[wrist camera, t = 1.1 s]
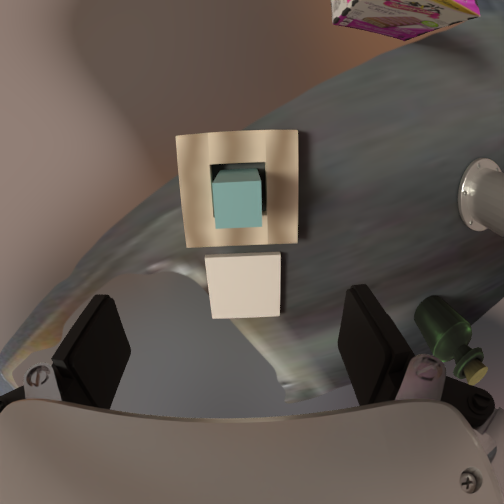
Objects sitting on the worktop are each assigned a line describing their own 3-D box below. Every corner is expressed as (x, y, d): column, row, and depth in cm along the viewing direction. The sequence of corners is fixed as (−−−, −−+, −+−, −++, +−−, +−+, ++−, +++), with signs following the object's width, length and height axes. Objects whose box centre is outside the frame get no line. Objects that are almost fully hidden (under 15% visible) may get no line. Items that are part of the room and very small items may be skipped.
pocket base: (294, 129, 32) (297, 129, 30) (294, 237, 38) (297, 242, 36) (179, 135, 32) (175, 136, 30) (189, 241, 38) (186, 247, 36)
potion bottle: (413, 334, 46) (456, 402, 30) (406, 306, 43) (457, 379, 27) (446, 313, 45) (494, 374, 28) (442, 283, 42) (500, 346, 26)
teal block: (256, 168, 34) (260, 180, 26) (258, 203, 36) (262, 226, 28) (220, 170, 34) (212, 183, 26) (222, 205, 36) (215, 228, 28)
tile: (279, 251, 39) (280, 254, 38) (279, 311, 43) (279, 315, 42) (205, 254, 39) (204, 257, 38) (213, 314, 43) (212, 318, 42)
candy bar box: (331, 27, 26) (386, -27, 11) (329, -3, 24) (376, -63, 9) (406, 43, 26) (483, 18, 11) (402, 15, 24) (472, -19, 9)
